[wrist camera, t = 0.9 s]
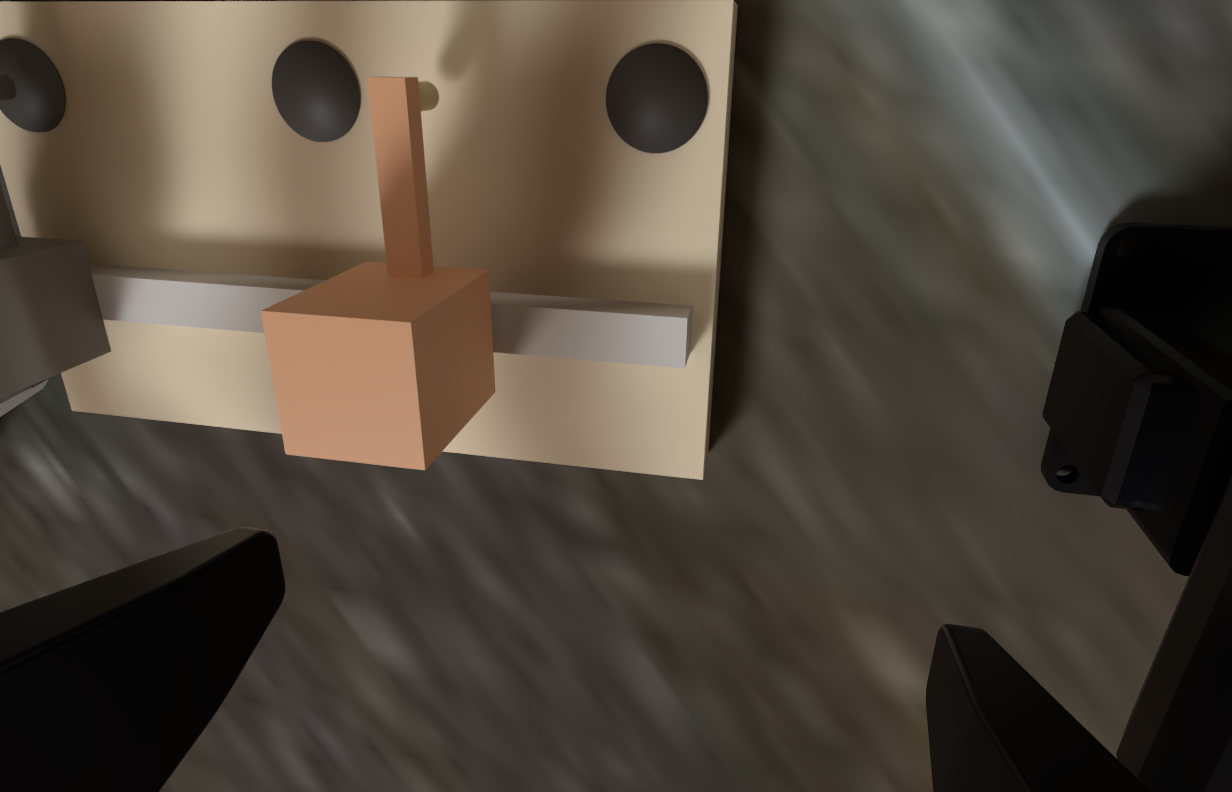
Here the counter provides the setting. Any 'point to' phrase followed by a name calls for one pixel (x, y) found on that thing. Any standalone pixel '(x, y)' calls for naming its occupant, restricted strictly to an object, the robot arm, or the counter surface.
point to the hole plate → (371, 203)
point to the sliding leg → (386, 323)
